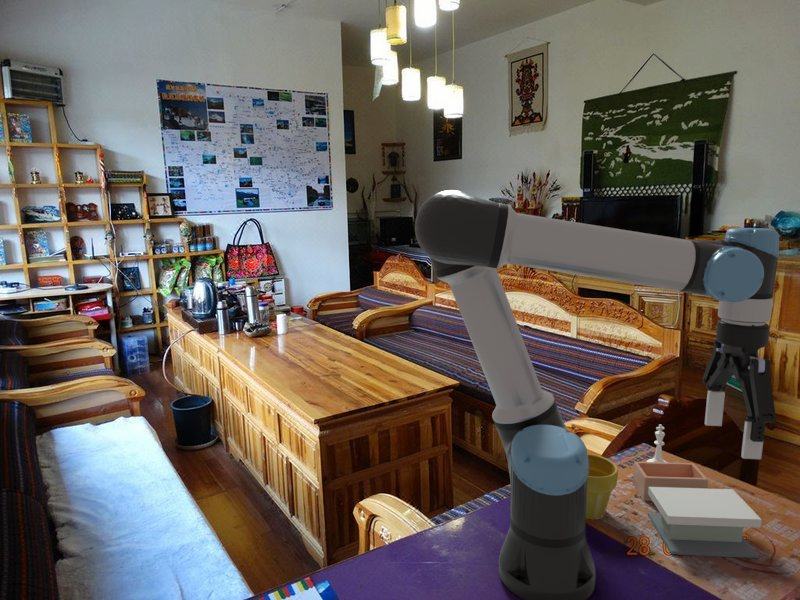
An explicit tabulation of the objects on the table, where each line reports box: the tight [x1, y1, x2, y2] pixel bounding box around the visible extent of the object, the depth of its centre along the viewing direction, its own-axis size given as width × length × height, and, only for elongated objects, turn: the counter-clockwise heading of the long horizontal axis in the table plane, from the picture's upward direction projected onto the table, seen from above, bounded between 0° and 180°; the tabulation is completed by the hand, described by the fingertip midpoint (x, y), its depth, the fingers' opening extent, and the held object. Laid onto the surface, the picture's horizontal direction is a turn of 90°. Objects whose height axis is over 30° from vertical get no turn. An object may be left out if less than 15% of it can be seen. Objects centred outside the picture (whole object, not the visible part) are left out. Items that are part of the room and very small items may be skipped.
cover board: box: [648, 487, 763, 528], centre depth 98 cm, size 15×10×2 cm, turn 84°
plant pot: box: [586, 453, 619, 520], centre depth 107 cm, size 10×10×10 cm
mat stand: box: [647, 512, 759, 559], centre depth 99 cm, size 14×12×5 cm
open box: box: [632, 461, 709, 502], centre depth 114 cm, size 12×7×5 cm, turn 84°
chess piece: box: [646, 424, 669, 463], centre depth 125 cm, size 5×5×10 cm
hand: (730, 440), depth 96 cm, fingers open, 13 cm apart
